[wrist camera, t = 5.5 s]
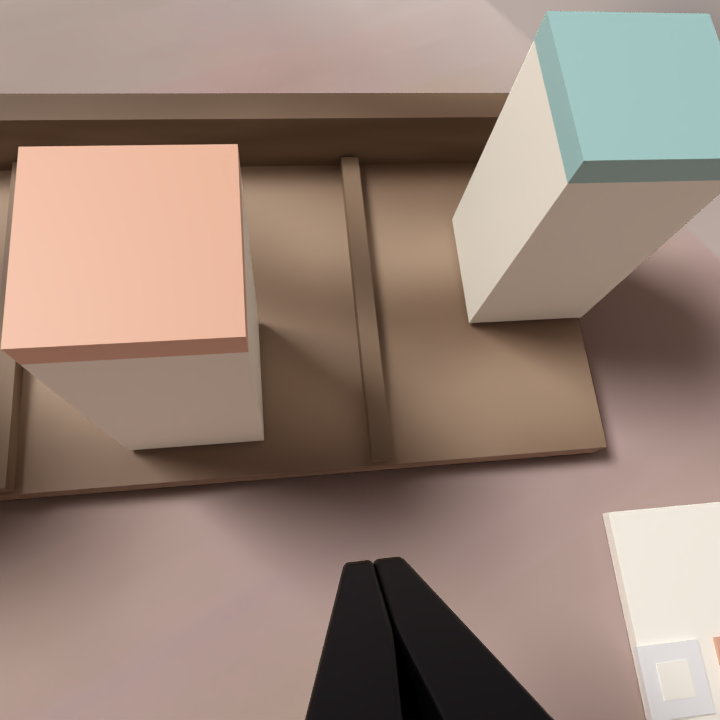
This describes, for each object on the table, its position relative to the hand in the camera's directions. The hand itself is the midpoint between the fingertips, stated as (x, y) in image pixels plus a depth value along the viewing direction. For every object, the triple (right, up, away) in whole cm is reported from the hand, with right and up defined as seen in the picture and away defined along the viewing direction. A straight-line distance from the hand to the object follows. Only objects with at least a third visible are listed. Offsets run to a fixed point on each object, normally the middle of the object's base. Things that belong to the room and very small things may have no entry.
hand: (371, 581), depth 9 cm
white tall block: (+5, +6, +13) cm, 16 cm away
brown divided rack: (-6, +5, +13) cm, 15 cm away
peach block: (-5, +2, +11) cm, 12 cm away
